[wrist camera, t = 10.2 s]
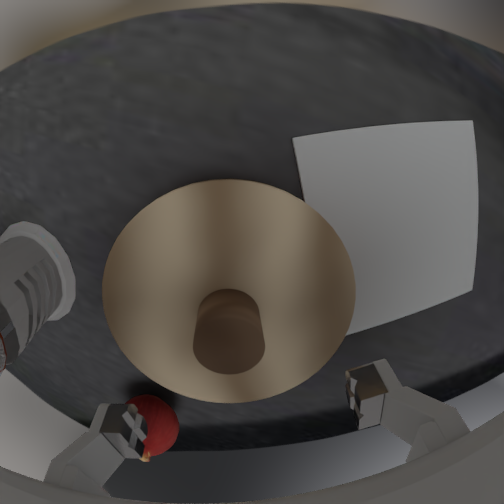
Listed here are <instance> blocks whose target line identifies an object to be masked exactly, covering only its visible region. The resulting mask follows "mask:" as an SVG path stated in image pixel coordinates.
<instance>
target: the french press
mask: <svg viewBox="0 0 504 504" xmlns="http://www.w3.org/2000/svg"><path fill="white" fill-rule="evenodd" d="M75 284H76V278H75V275H74V272H73V269H72V266H71V263H70V260H69V257H68V255H67V254H66V252H65V251H64V249H63V248H62V246H61V245H60V243H59V242H58V240H57V239H56V238H55V237H54V236H53V235H51V234H50V233H49V232H48V231H46V230H45V229H44V228H43V227H42V226H40V225H37V224H33V223H30V222H26V221H22V222H19V223H15V224H12V225H10V226H9V227H8V228H7V229H6V231H5V232H4V233H3V234H2V235H1V237H0V332H1V331H2V330H3V329H4V328H5V326H6V325H7V324H8V323H9V322H10V321H11V320H12V322H13V324H14V328H13V330H12V331H11V332H10V333H9V334H8V335H7V336H6V338H5V339H4V340H3V337H2V335H1V333H0V375H1V373H2V371H3V370H4V369H5V366H6V365H9V364H11V363H13V362H14V361H15V360H16V358H17V357H18V356H19V355H20V353H21V352H22V351H23V350H24V348H25V347H26V346H27V344H28V343H29V342H30V341H31V339H32V338H33V336H34V335H35V334H36V333H37V332H38V331H39V330H40V328H41V327H42V326H41V324H42V323H43V324H44V323H45V322H46V321H49V320H59V319H60V318H61V317H63V316H64V315H66V314H67V313H69V311H70V309H71V307H72V305H73V302H74V300H75V298H76V293H75ZM36 330H37V332H36V333H35V334H34V332H35V331H36ZM28 339H29V342H28V343H26V342H27V340H28ZM18 351H19V352H18Z"/></svg>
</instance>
